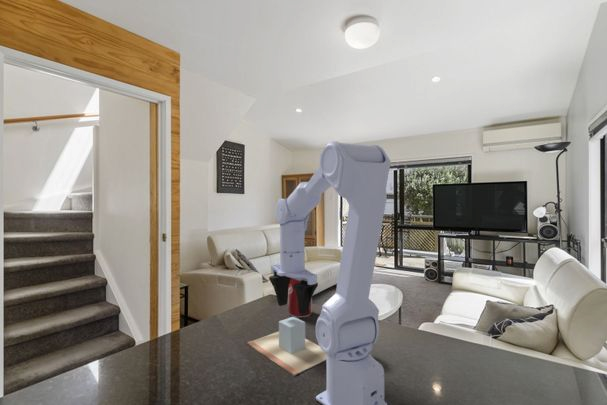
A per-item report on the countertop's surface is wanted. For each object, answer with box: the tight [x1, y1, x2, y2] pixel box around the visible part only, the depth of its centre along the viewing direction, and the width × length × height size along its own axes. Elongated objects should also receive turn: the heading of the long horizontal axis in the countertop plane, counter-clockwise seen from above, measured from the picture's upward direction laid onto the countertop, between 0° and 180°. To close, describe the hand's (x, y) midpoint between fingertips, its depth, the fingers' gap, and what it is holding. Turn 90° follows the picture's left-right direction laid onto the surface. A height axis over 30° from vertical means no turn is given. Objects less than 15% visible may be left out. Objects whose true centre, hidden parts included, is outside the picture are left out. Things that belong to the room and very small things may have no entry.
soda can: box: [287, 278, 313, 319], centre depth 94 cm, size 7×7×12 cm
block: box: [278, 316, 306, 354], centre depth 73 cm, size 4×4×6 cm
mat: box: [246, 330, 326, 377], centre depth 72 cm, size 18×12×1 cm, turn 41°
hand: (292, 309), depth 73 cm, fingers open, 7 cm apart
